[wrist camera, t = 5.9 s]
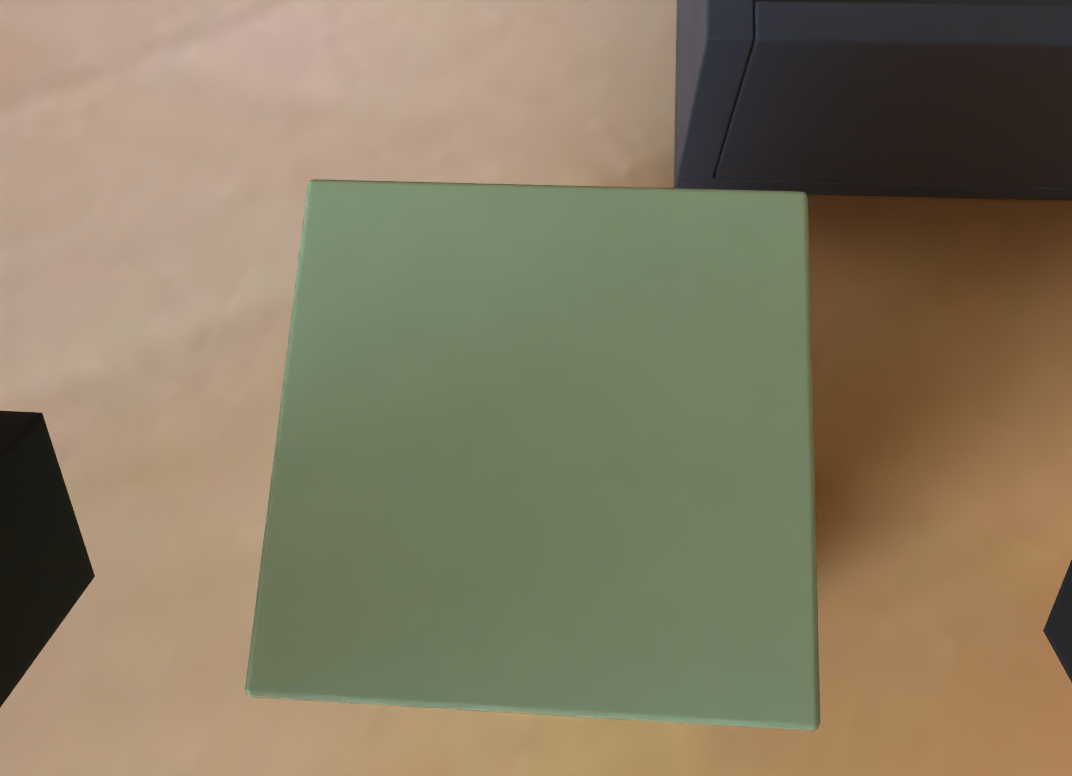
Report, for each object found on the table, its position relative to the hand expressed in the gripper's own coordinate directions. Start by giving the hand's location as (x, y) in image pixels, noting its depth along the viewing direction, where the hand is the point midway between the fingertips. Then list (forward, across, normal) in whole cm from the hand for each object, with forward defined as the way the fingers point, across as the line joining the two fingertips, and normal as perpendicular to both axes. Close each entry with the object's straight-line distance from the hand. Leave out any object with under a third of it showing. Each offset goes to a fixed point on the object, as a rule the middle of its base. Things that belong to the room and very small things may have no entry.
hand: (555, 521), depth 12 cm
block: (+6, 0, -5) cm, 7 cm away
